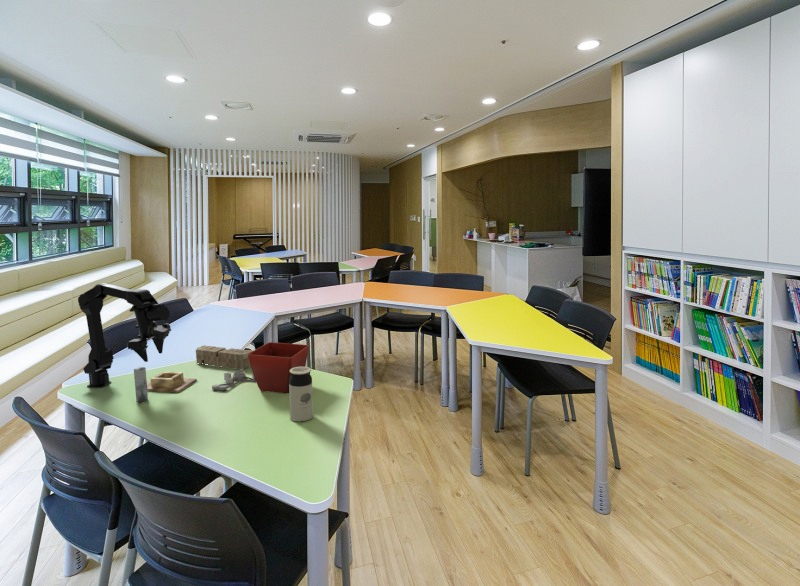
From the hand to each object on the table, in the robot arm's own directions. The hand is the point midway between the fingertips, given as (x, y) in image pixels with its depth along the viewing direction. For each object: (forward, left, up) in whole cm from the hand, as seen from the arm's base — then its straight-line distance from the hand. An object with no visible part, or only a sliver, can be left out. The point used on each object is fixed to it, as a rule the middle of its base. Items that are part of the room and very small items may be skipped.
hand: (153, 357), depth 192 cm
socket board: (+2, +5, -14) cm, 15 cm away
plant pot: (+50, +9, -14) cm, 53 cm away
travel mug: (+68, -19, -14) cm, 72 cm away
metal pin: (+2, -12, -14) cm, 18 cm away
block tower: (+12, +36, -15) cm, 41 cm away
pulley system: (+31, +14, -15) cm, 37 cm away
